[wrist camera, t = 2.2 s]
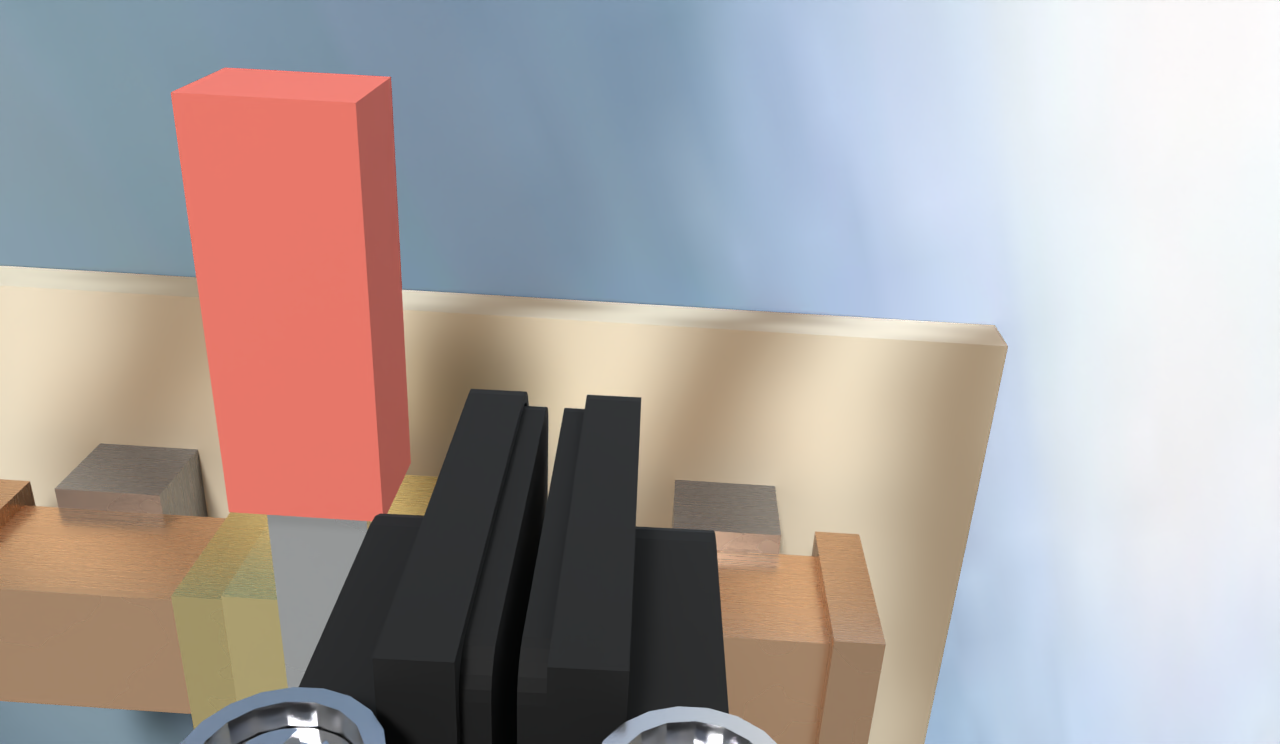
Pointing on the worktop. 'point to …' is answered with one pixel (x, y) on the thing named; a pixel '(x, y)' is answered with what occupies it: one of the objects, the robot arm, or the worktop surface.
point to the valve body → (240, 544)
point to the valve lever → (300, 315)
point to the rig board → (562, 378)
